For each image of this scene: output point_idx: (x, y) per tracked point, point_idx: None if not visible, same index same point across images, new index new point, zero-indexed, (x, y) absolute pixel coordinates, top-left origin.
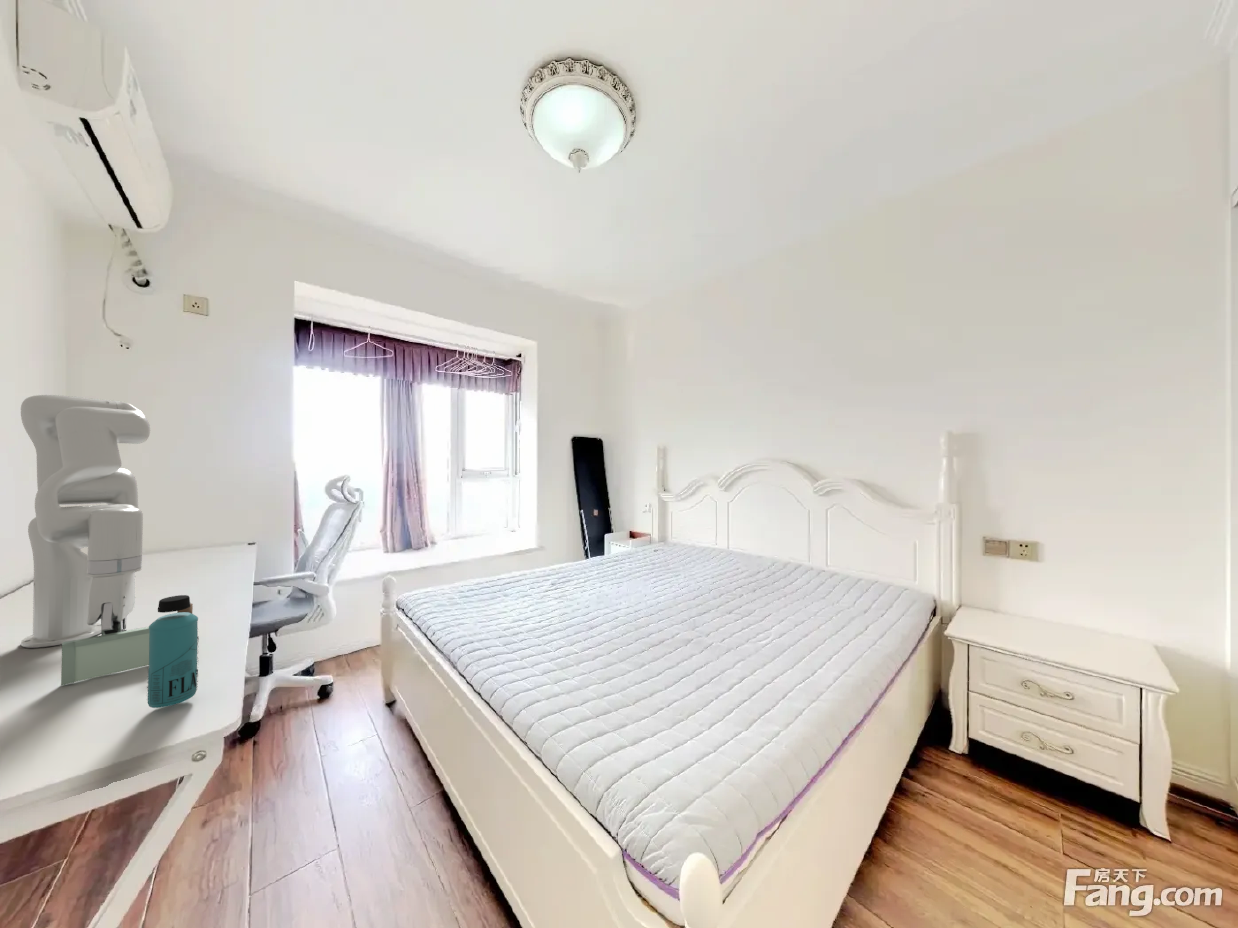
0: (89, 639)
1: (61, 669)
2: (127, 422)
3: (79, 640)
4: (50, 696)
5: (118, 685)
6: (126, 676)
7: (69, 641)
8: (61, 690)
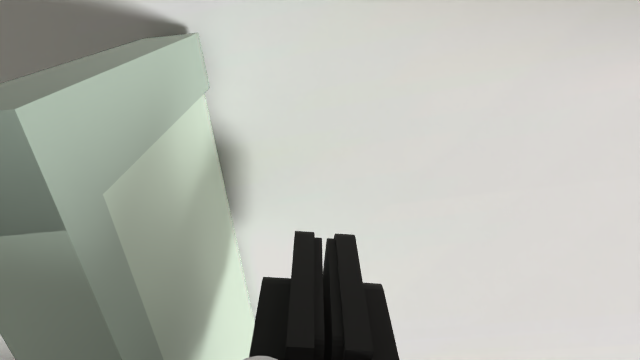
0: (8, 339)
1: (87, 56)
2: None
3: (20, 264)
4: (23, 15)
5: None
6: None
7: (33, 174)
8: (99, 48)
